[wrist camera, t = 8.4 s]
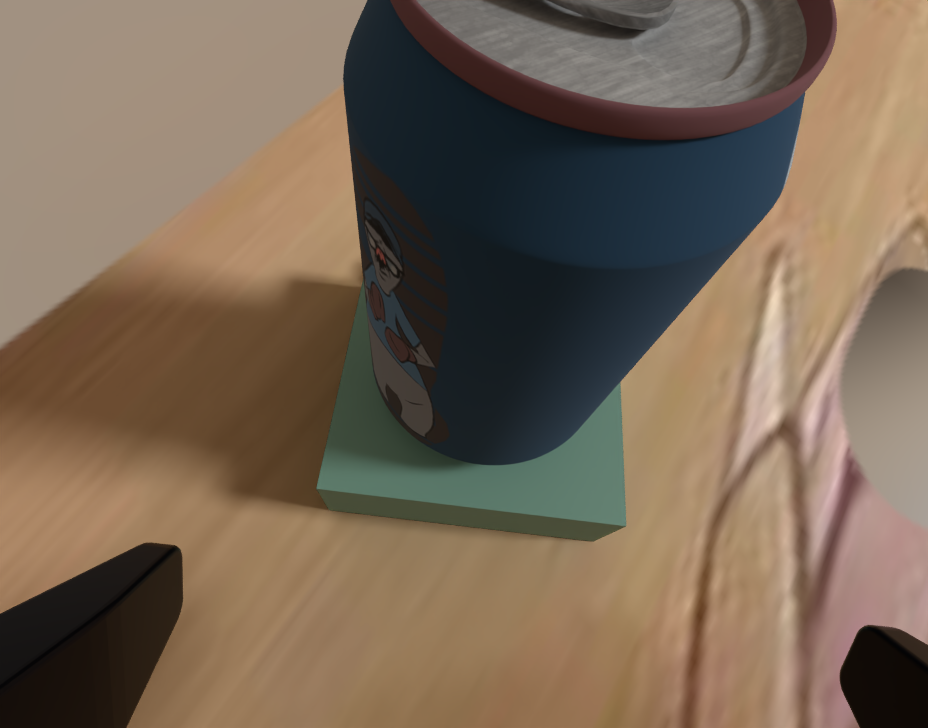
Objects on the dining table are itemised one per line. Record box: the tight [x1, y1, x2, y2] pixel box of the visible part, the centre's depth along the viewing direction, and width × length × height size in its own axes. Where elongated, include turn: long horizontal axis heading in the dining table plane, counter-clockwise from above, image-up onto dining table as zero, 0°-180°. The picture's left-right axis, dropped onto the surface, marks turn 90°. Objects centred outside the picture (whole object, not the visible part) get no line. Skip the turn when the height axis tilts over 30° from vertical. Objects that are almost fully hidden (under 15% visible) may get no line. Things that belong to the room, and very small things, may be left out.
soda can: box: [343, 0, 837, 465], centre depth 12 cm, size 7×7×12 cm
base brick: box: [316, 279, 626, 541], centre depth 19 cm, size 10×9×3 cm
